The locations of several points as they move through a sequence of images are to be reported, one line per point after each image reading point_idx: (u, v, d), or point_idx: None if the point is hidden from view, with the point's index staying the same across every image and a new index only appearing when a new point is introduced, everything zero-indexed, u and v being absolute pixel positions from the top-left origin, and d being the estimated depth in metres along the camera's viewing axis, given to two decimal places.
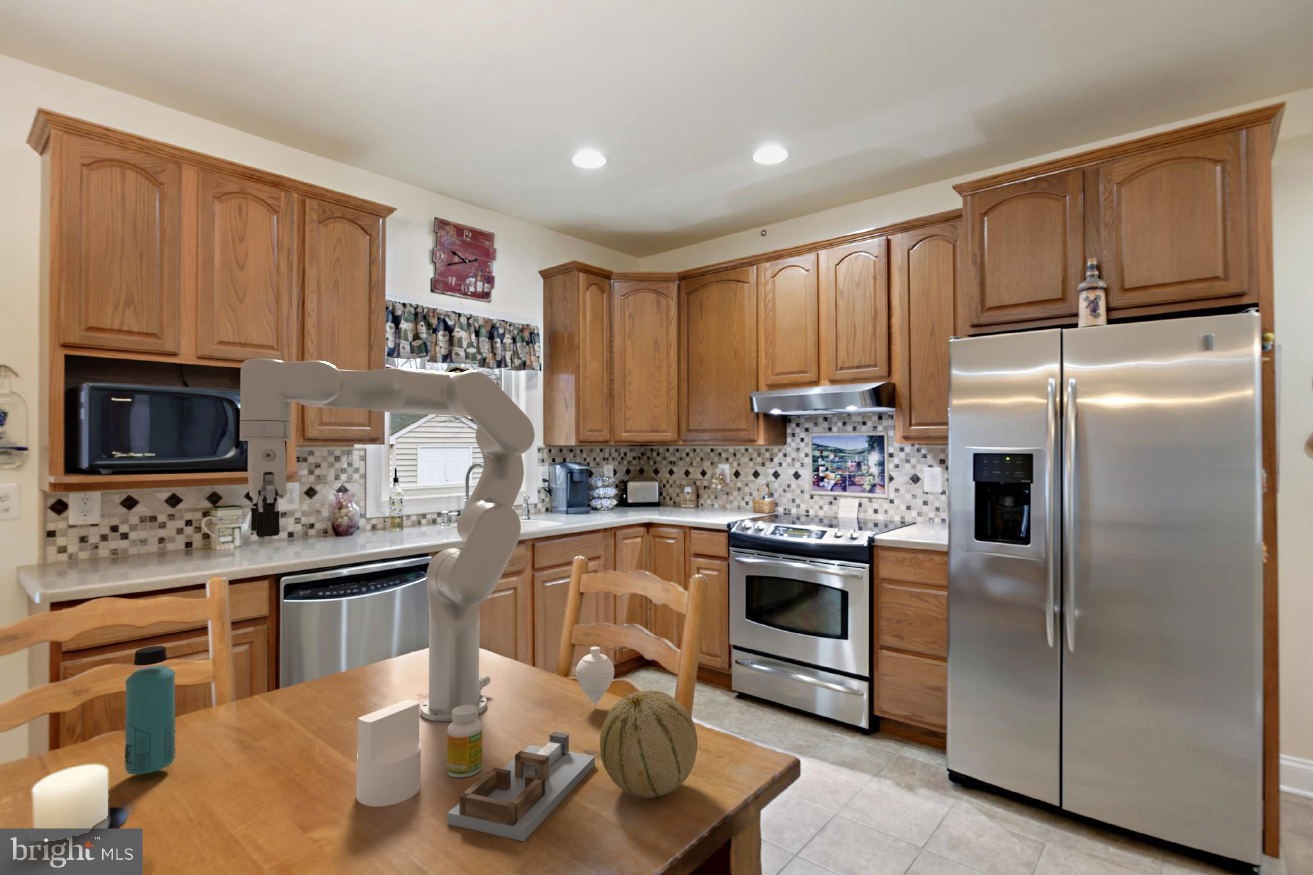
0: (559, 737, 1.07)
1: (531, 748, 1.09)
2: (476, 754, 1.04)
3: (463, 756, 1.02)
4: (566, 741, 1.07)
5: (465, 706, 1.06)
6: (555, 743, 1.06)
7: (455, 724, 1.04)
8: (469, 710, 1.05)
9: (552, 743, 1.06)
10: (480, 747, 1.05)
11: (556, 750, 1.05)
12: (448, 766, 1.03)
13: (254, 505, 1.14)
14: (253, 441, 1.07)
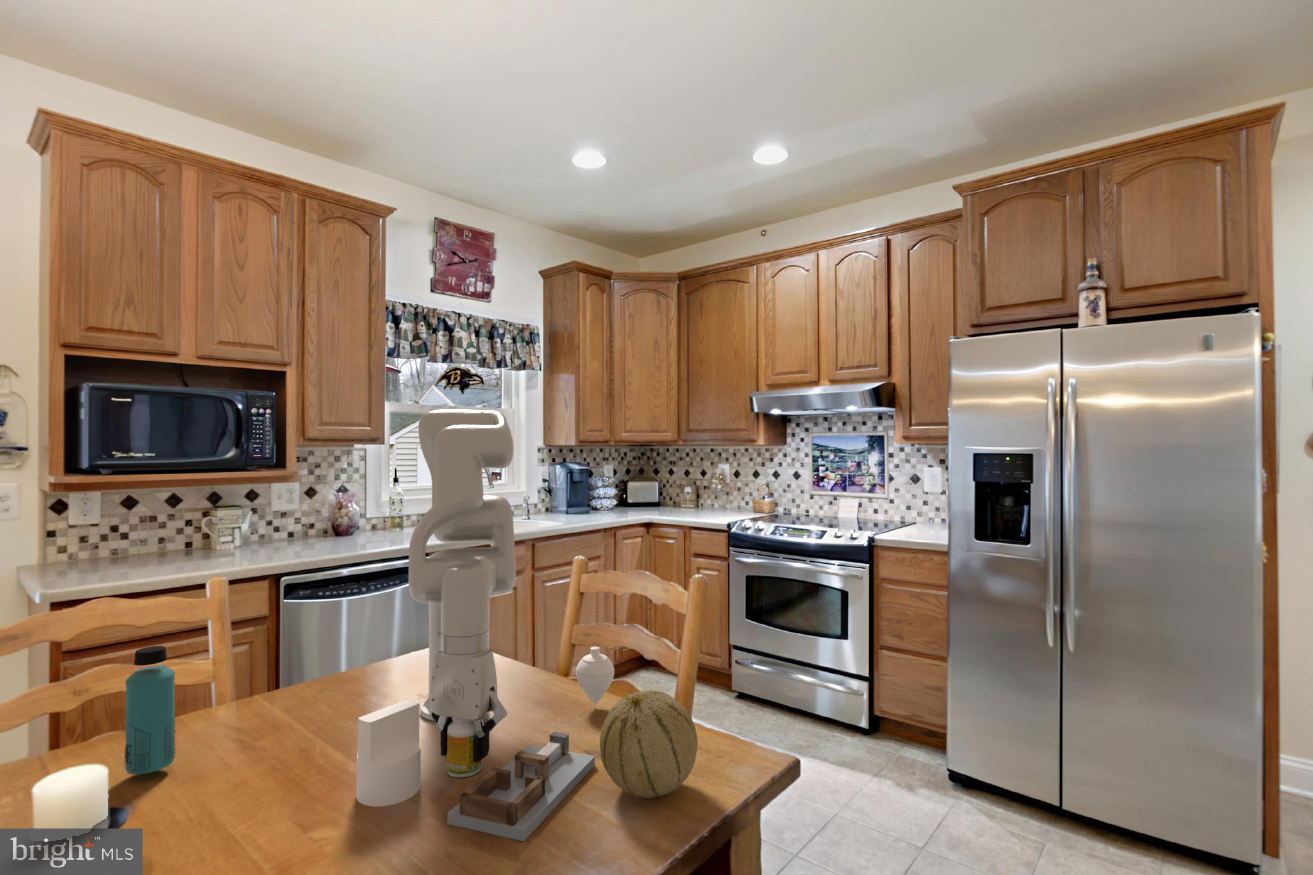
0: (559, 737, 1.07)
1: (531, 748, 1.09)
2: None
3: (463, 756, 1.02)
4: (566, 741, 1.07)
5: None
6: (555, 743, 1.06)
7: (455, 724, 1.04)
8: None
9: (552, 743, 1.06)
10: None
11: (556, 750, 1.05)
12: (448, 766, 1.03)
13: None
14: None
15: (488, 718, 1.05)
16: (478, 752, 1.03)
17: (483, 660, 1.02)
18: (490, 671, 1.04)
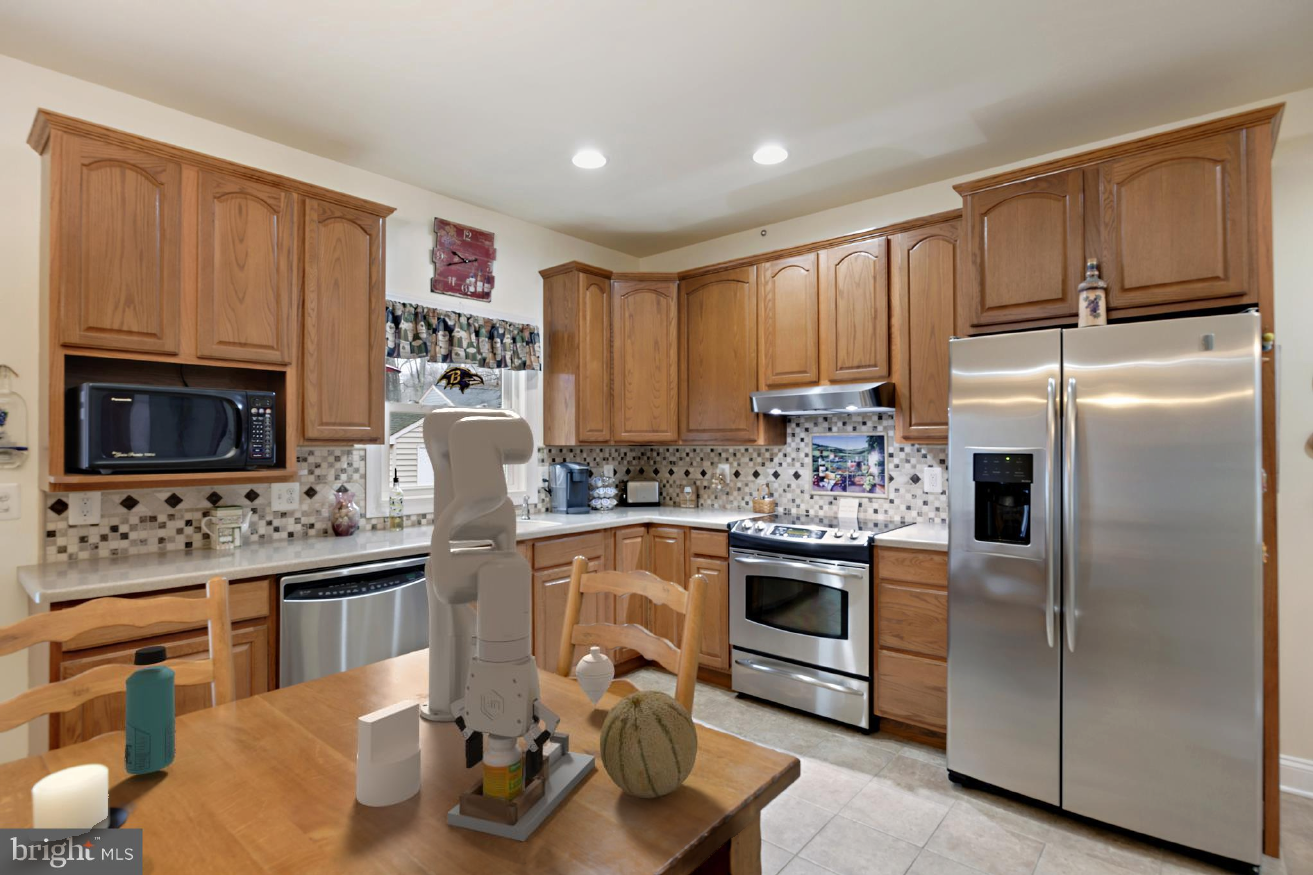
0: (559, 737, 1.07)
1: None
2: (517, 785, 0.91)
3: (503, 788, 0.90)
4: (566, 741, 1.07)
5: None
6: (555, 743, 1.06)
7: (492, 751, 0.91)
8: None
9: (552, 743, 1.06)
10: (520, 776, 0.92)
11: (556, 750, 1.05)
12: None
13: None
14: None
15: (538, 729, 0.92)
16: (531, 769, 0.90)
17: (525, 668, 0.90)
18: (533, 681, 0.91)
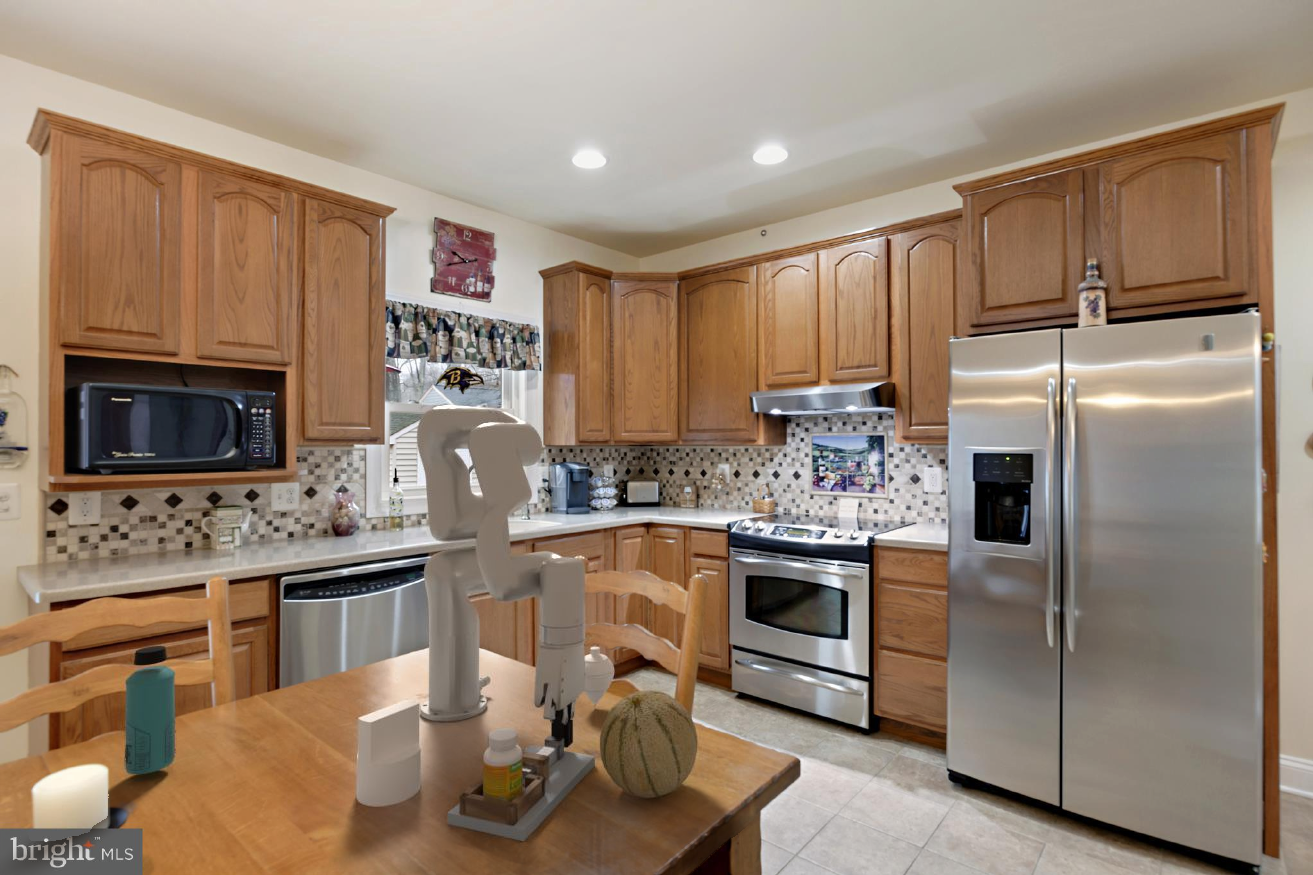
0: (554, 741, 1.05)
1: (531, 748, 1.09)
2: (517, 784, 0.91)
3: (503, 788, 0.90)
4: (561, 745, 1.06)
5: (502, 730, 0.94)
6: (550, 747, 1.05)
7: (492, 751, 0.91)
8: (508, 735, 0.92)
9: (547, 747, 1.05)
10: (521, 776, 0.92)
11: (551, 754, 1.03)
12: None
13: (566, 716, 1.08)
14: None
15: (561, 713, 1.07)
16: (553, 736, 1.08)
17: (541, 652, 1.05)
18: (547, 667, 1.04)
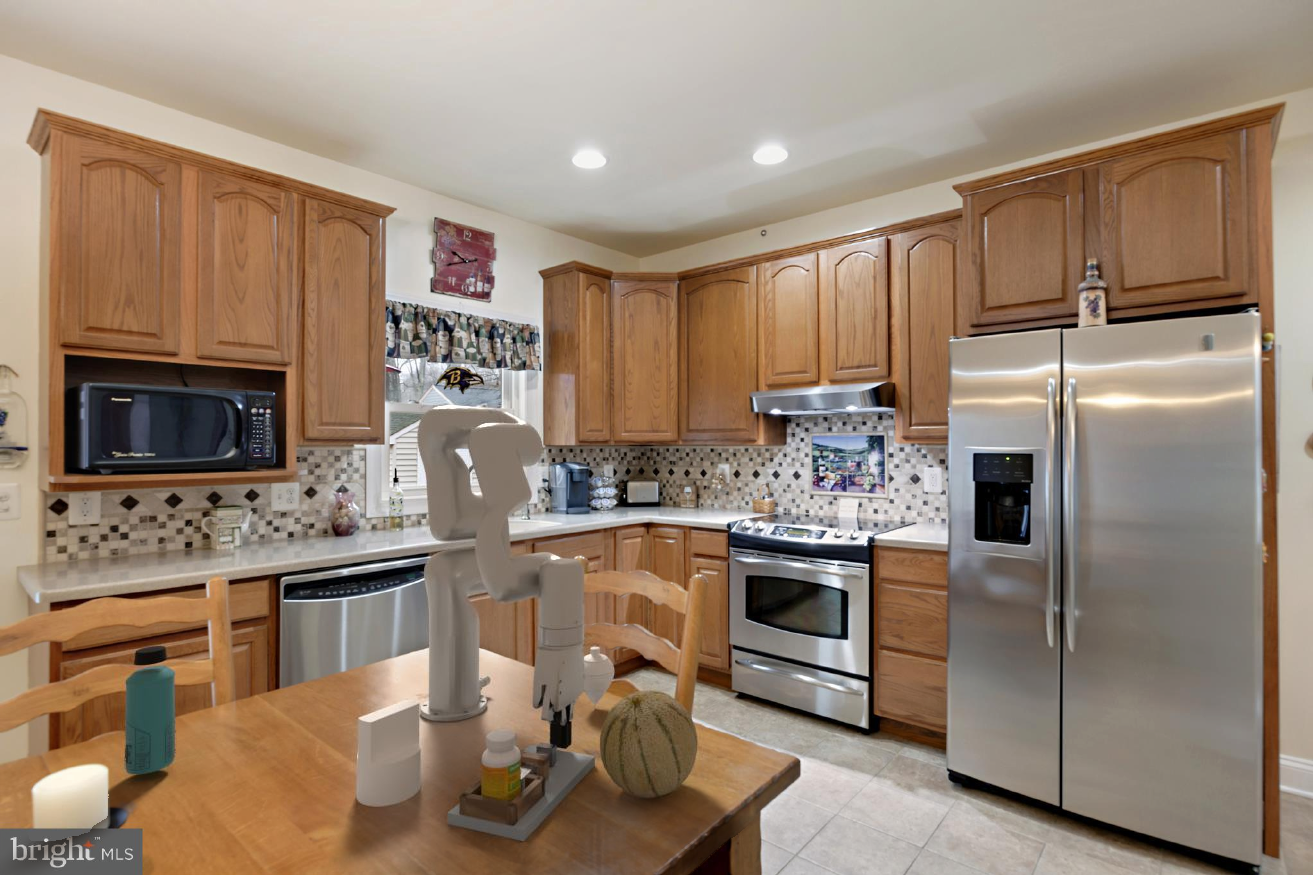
0: (546, 748, 1.03)
1: (531, 748, 1.09)
2: (515, 786, 0.91)
3: (502, 789, 0.90)
4: (554, 752, 1.03)
5: (500, 731, 0.93)
6: (542, 754, 1.02)
7: (490, 752, 0.91)
8: (506, 736, 0.92)
9: None
10: (519, 778, 0.92)
11: None
12: None
13: None
14: None
15: (560, 715, 1.06)
16: (552, 737, 1.08)
17: (539, 653, 1.05)
18: (545, 668, 1.04)
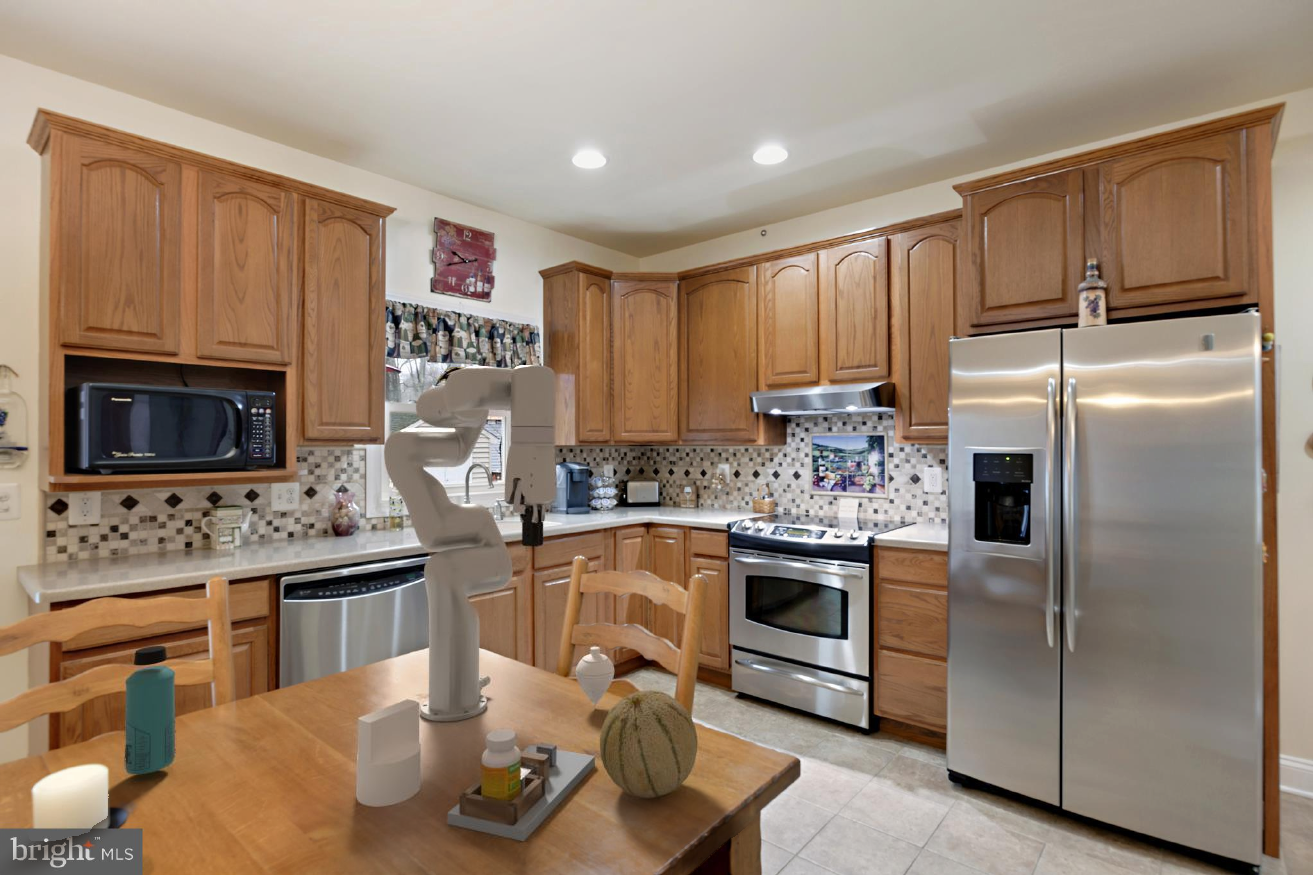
0: (546, 748, 1.03)
1: (531, 748, 1.09)
2: (515, 786, 0.91)
3: (502, 789, 0.90)
4: (554, 752, 1.03)
5: (500, 731, 0.93)
6: (542, 754, 1.02)
7: (490, 752, 0.91)
8: (506, 736, 0.92)
9: None
10: (519, 778, 0.92)
11: None
12: None
13: (536, 517, 1.11)
14: (553, 447, 1.15)
15: (531, 512, 1.10)
16: (524, 537, 1.11)
17: (511, 449, 1.08)
18: (516, 462, 1.08)
